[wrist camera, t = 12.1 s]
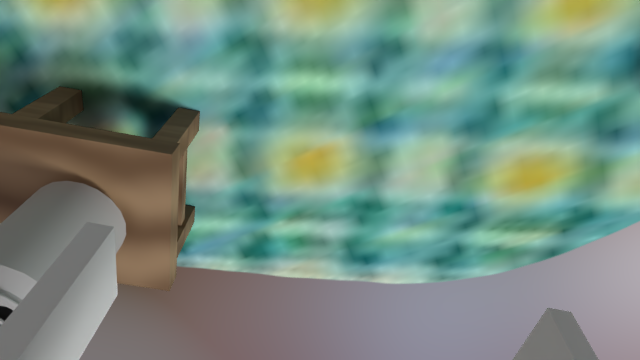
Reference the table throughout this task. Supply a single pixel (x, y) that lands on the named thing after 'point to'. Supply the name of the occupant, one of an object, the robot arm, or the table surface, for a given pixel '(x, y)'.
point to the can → (48, 234)
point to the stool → (106, 177)
